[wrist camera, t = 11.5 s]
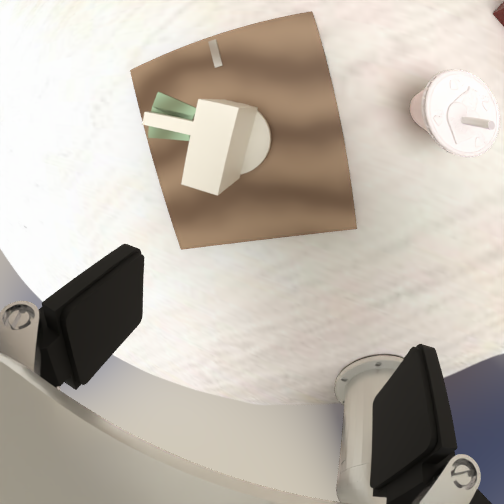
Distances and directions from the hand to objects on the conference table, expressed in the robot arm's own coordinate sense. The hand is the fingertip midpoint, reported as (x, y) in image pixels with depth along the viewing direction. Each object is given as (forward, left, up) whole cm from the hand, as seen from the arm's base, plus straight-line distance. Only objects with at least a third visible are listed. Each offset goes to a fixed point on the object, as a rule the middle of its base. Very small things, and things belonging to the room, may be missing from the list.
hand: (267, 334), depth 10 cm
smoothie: (+5, -12, -24) cm, 27 cm away
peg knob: (+7, +9, -21) cm, 24 cm away
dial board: (+5, +7, -23) cm, 25 cm away
